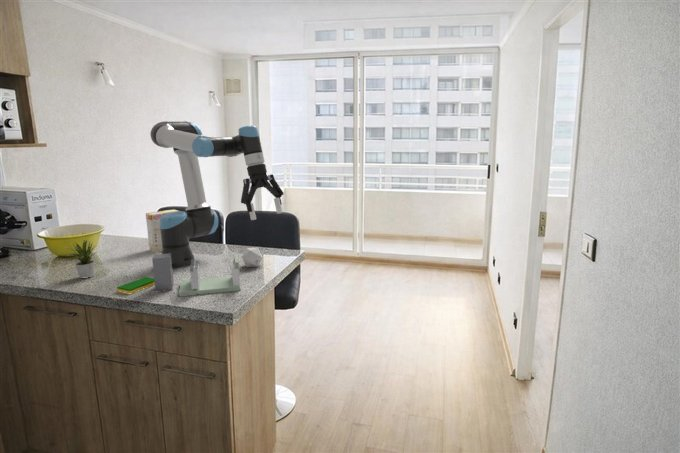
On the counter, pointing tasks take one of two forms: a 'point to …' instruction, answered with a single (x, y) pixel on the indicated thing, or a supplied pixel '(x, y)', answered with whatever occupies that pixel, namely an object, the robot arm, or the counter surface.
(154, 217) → the coffeecake box
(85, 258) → the house plant
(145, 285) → the dish sponge
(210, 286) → the vise bed
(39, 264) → the counter surface
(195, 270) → the sliding jaw
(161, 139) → the robot arm
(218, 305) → the counter surface
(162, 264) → the steel block
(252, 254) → the die
